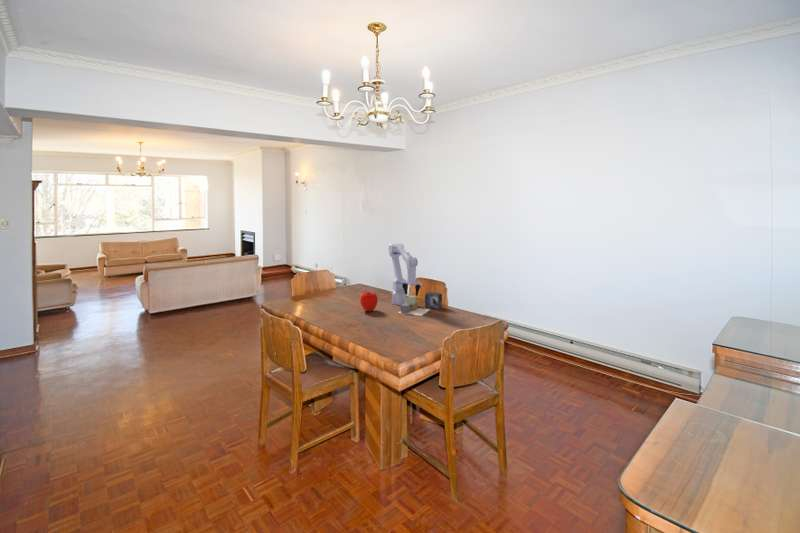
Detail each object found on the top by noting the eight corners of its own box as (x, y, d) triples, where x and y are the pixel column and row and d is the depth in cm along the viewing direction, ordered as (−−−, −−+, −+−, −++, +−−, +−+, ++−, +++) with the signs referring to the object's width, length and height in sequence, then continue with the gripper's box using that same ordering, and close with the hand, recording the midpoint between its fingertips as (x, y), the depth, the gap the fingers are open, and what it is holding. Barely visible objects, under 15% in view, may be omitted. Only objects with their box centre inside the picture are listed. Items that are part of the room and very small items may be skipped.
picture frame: (424, 308, 278) (424, 293, 276) (428, 305, 284) (428, 291, 282) (438, 310, 273) (438, 295, 272) (442, 307, 279) (442, 293, 277)
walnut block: (404, 309, 272) (404, 304, 271) (408, 307, 278) (408, 301, 278) (414, 311, 269) (414, 305, 268) (417, 308, 275) (418, 302, 275)
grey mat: (397, 313, 265) (397, 312, 265) (407, 307, 280) (407, 306, 280) (421, 316, 259) (421, 315, 258) (430, 310, 273) (430, 309, 273)
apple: (361, 314, 263) (360, 294, 261) (359, 309, 275) (359, 290, 272) (378, 313, 266) (378, 293, 263) (376, 308, 277) (376, 289, 275)
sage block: (406, 304, 272) (406, 296, 271) (409, 302, 276) (409, 295, 275) (413, 304, 270) (413, 297, 269) (416, 303, 274) (416, 296, 273)
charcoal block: (400, 312, 266) (400, 305, 265) (403, 310, 270) (403, 303, 269) (407, 313, 264) (407, 306, 263) (410, 311, 268) (410, 304, 267)
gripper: (399, 275, 269) (399, 295, 271) (419, 277, 263) (419, 297, 266) (403, 274, 275) (403, 293, 278) (423, 275, 270) (422, 295, 272)
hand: (411, 295), depth 272 cm, fingers open, 7 cm apart
